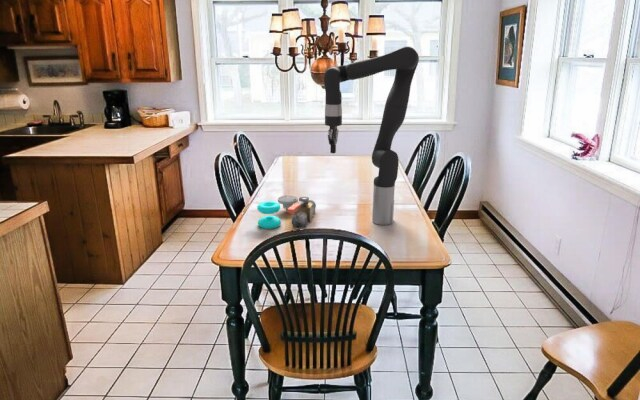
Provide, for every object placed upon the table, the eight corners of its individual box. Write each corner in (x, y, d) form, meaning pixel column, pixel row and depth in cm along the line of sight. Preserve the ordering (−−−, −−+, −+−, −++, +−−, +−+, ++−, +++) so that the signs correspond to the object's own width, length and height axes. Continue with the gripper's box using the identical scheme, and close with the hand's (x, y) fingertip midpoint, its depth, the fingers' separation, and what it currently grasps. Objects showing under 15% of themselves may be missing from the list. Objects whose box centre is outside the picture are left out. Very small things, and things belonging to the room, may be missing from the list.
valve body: (317, 211, 223) (317, 196, 220) (305, 228, 203) (305, 212, 200) (302, 210, 224) (302, 195, 222) (290, 227, 204) (289, 211, 202)
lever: (301, 200, 214) (301, 196, 213) (310, 202, 212) (310, 197, 211) (285, 213, 198) (285, 208, 198) (295, 214, 197) (295, 209, 196)
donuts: (278, 199, 209) (281, 206, 200) (279, 220, 212) (282, 228, 203) (255, 201, 207) (258, 208, 198) (256, 222, 210) (259, 230, 201)
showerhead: (289, 201, 215) (273, 197, 221) (289, 216, 217) (274, 211, 223) (302, 196, 222) (287, 192, 228) (302, 210, 224) (287, 206, 230)
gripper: (339, 116, 200) (338, 156, 205) (344, 112, 212) (343, 150, 217) (321, 116, 201) (321, 155, 207) (328, 112, 213) (327, 149, 219)
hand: (333, 152), depth 212 cm, fingers closed
